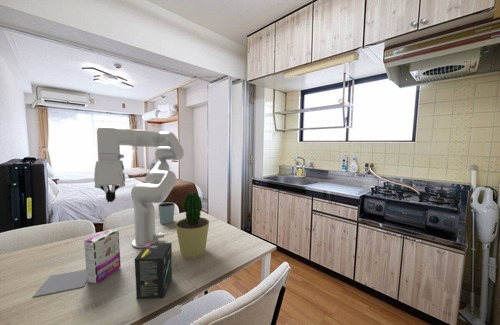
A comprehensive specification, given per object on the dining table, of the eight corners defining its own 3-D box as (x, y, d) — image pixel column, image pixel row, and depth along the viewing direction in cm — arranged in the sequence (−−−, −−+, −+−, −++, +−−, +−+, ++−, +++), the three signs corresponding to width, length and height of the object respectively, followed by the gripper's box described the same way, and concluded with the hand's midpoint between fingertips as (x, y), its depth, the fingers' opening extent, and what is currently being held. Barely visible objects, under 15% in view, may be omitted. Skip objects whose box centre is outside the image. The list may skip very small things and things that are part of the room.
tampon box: (148, 279, 81) (147, 242, 79) (172, 278, 81) (172, 242, 80) (135, 300, 70) (133, 258, 68) (163, 298, 70) (162, 257, 69)
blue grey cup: (155, 223, 136) (155, 205, 135) (164, 218, 146) (163, 201, 145) (169, 225, 134) (169, 206, 133) (177, 219, 144) (177, 202, 143)
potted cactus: (195, 241, 112) (194, 186, 109) (215, 250, 103) (215, 190, 100) (169, 253, 99) (168, 191, 97) (190, 264, 90) (189, 197, 88)
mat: (93, 268, 86) (93, 268, 86) (83, 287, 75) (83, 286, 75) (50, 276, 81) (50, 275, 81) (32, 297, 70) (32, 296, 70)
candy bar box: (111, 265, 89) (109, 228, 87) (121, 267, 88) (119, 229, 86) (85, 282, 78) (83, 240, 77) (96, 284, 77) (94, 241, 76)
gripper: (131, 156, 92) (133, 198, 93) (91, 157, 87) (93, 200, 88) (127, 158, 84) (128, 202, 86) (83, 158, 80) (85, 205, 81)
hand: (110, 201), depth 87 cm, fingers closed
